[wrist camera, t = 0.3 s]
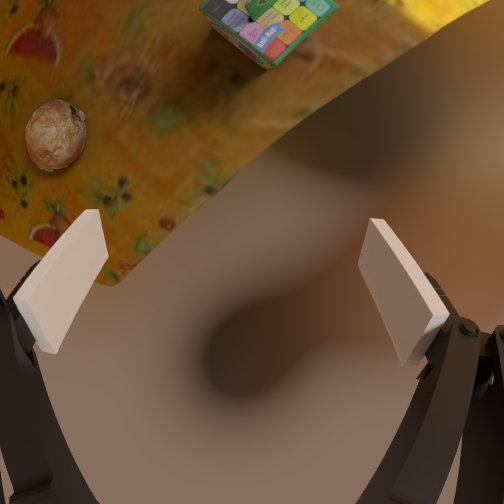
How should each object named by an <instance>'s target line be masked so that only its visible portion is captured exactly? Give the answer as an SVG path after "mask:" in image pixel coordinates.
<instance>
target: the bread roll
mask: <svg viewBox="0 0 504 504" xmlns="http://www.w3.org/2000/svg"><path fill="white" fill-rule="evenodd" d="M84 120H85V115H84V113H83V112H82V111H81V110H79V111H78V110H77V108H75V107H74V106H73V105H72V104H70V103H69V102H67V101H65V100H62V99H55V100H51V101H48V102H46V103H44V104H43V105H42V106H40V107H39V108H38V109H37V110H36V111H35V112H34V113H33V115H32V116H31V118H30V120H29V122H28V125H27V128H26V135H25V139H26V149H27V152H28V154H29V156H30V158H31V159H32V161H33V162H34V163H35V164H36V165H37V166H38V167H39V168H40V169H41V170H42V169H45V170H46V171H50V172H52V171H54V169H62V168H63V167H67V166H68V165H69V164H70V163H71V162H74V161H75V160H76V159H77V158H78V157H79V156H80V154H81V153H82V150H83V147H84V145H85V139H86V132H87V129H86V125H85V123H84Z"/></svg>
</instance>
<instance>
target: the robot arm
mask: <svg viewBox="0 0 504 504" xmlns="http://www.w3.org/2000/svg"><path fill="white" fill-rule="evenodd" d="M107 258H108V253H107V248H106V244H105V239H104V234H103V230H102V225H101V220H100V214H99V209H87V210H85V211H84V212H83V213H82V214H81V215H80V216H79V217H78V218H77V219H76V220H75V222H74V223H73V224H72V225H71V226H70V227H69V228H68V229H67V230H66V232H65V233H64V234H63V235H62V236H61V237H60V238H59V240H58V241H57V242H56V243H55V244H54V245H53V247H52V248H51V249H50V250H49V251H48V253H47V254H46V255H45V256H44V258H43V259H42V260H39V261H38V262H37V263H35V264H34V265H33V266H31V268H30V269H29V270H28V271H27V272H26V274H25V276H23V278H22V279H21V280H20V281H21V282H19V283H18V284H17V286H16V287H15V288H14V290H13V291H12V292H11V294H10V295H9V297H8V298H7V300H5V298H4V296H3V294H2V291H1V289H0V448H1V452H2V455H3V459H4V462H5V465H6V468H7V471H8V474H9V477H10V480H11V483H12V485H13V489H14V494H12V495H11V496H10V497H9V504H99V502H98V501H97V500H96V499H95V497H94V495H93V494H92V492H91V490H90V488H89V487H88V485H87V483H86V481H85V479H84V477H83V476H82V474H81V472H80V470H79V468H78V466H77V464H76V462H75V460H74V458H73V456H72V454H71V451H70V449H69V447H68V445H67V443H66V440H65V438H64V436H63V434H62V431H61V429H60V426H59V424H58V421H57V419H56V416H55V413H54V411H53V408H52V405H51V402H50V400H49V397H48V394H47V391H46V388H45V385H44V381H43V378H42V375H41V371H40V368H39V364H38V361H37V357H36V353H35V352H34V350H33V348H32V347H33V345H34V343H35V341H36V342H37V344H38V345H39V347H40V349H41V350H42V351H44V352H49V353H53V354H57V351H58V349H59V347H60V345H61V343H62V341H63V339H64V337H65V334H66V333H67V331H68V329H69V327H70V325H71V323H72V320H73V319H74V317H75V315H76V313H77V311H78V309H79V307H80V305H81V304H82V302H83V300H84V298H85V296H86V294H87V292H88V291H89V289H90V287H91V285H92V284H93V282H94V280H95V278H96V277H97V275H98V273H99V271H100V270H101V268H102V266H103V265H104V263H105V261H106V260H107ZM358 267H359V269H360V271H361V273H362V275H363V277H364V279H365V282H366V284H367V286H368V288H369V290H370V292H371V294H372V297H373V299H374V301H375V303H376V305H377V308H378V310H379V312H380V314H381V317H382V319H383V321H384V323H385V326H386V328H387V330H388V333H389V335H390V338H391V340H392V342H393V345H394V347H395V350H396V352H397V355H398V357H399V360H400V362H401V365H402V367H404V366H412V365H418V364H419V362H420V361H421V359H422V358H423V356H424V355H425V356H426V358H427V360H428V363H427V364H426V366H425V367H424V369H423V370H422V371H421V373H420V374H419V375H418V377H417V378H416V379H418V380H419V378H420V377H421V378H420V380H419V383H418V385H417V388H416V390H415V393H414V395H413V398H412V400H411V402H410V405H409V407H408V409H407V411H406V414H405V416H404V418H403V420H402V422H401V424H400V427H399V429H398V431H397V433H396V435H395V437H394V439H393V441H392V443H391V445H390V446H389V448H388V450H387V452H386V454H385V456H384V458H383V459H382V461H381V463H380V465H379V467H378V468H377V470H376V472H375V473H374V475H373V477H372V479H371V480H370V482H369V483H368V485H367V487H366V488H365V490H364V491H363V493H362V494H361V496H360V498H359V499H358V501H357V502H356V503H355V504H436V503H437V500H438V498H439V496H440V493H441V491H442V489H443V486H444V484H445V481H446V479H447V477H448V474H449V471H450V469H451V466H452V463H453V460H454V458H455V455H456V452H457V449H458V445H459V442H460V439H461V436H462V447H461V457H460V466H459V474H458V481H457V487H456V493H455V498H454V503H453V504H504V325H499V326H497V327H496V328H495V330H494V331H493V333H492V334H489V333H484V332H480V329H479V327H478V326H477V325H476V324H475V323H474V322H473V321H471V320H470V319H467V318H464V317H463V318H462V317H460V316H459V315H458V313H457V312H456V310H455V308H454V307H453V305H452V304H451V302H450V301H449V299H448V298H447V296H445V293H444V292H443V290H442V289H441V287H440V286H439V284H438V283H437V281H436V280H435V279H434V278H433V277H431V276H430V275H429V274H428V273H427V272H422V271H421V269H420V268H419V266H418V265H417V263H416V262H415V261H414V259H413V258H412V256H411V255H410V254H409V252H408V251H407V250H406V248H405V247H404V245H403V244H402V243H401V241H400V240H399V239H398V238H397V236H396V235H395V233H394V232H393V231H392V230H391V228H390V227H389V226H388V224H387V223H386V222H385V221H384V219H371V218H370V221H369V225H368V228H367V232H366V236H365V240H364V243H363V247H362V251H361V254H360V258H359V261H358ZM493 376H494V381H493V384H492V377H493ZM462 432H463V434H462ZM0 504H5V499H4V493H3V487H2V481H1V472H0Z"/></svg>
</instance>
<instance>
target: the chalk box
mask: <svg viewBox="0 0 504 504" xmlns="http://www.w3.org/2000/svg"><path fill="white" fill-rule="evenodd" d="M339 7H340V6H339V5H338V4H337V3H336V2H335V1H334V0H206V1H205V2H204V3H203V4H202V5H201V6H200V7H199V10H200V11H201V12H202V14H203V15H204V16H205V18H206V19H207V21H208V22H209V23H210V24H211V26H212V27H213V29H214V30H215V31H216V32H218V33H219V34H220V35H222V36H223V37H224V38H225V39H227V40H228V41H229V42H231V43H232V44H233V45H234V46H236V47H237V48H238V49H240V50H241V51H242V52H243V53H245V54H246V55H247V56H248V57H250V58H251V59H252V60H253V61H255V62H256V63H257V64H258V65H260V66H261V67H262V68H263V69H265V70H266V71H268V70H270V69H271V68H273V67H275V66H277V65H278V64H279V63H280V62H281V61H282V60H283V59H284V58H285V57H286V56H287V55H288V54H289V53H290V52H292V51H293V50H294V49H295V48H296V47H297V46H298V45H299V44H300V43H301V42H302V41H303V40H304V39H305V38H306V37H308V36H309V35H310V34H311V33H312V32H313V31H314V30H315V29H316V28H317V27H318V26H320V25H321V24H322V23H323V22H324V21H325V20H326V19H327V18H329V17H330V16H331V15H332V14H333V13H334V12H335V11H336V10H337V9H339Z"/></svg>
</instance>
